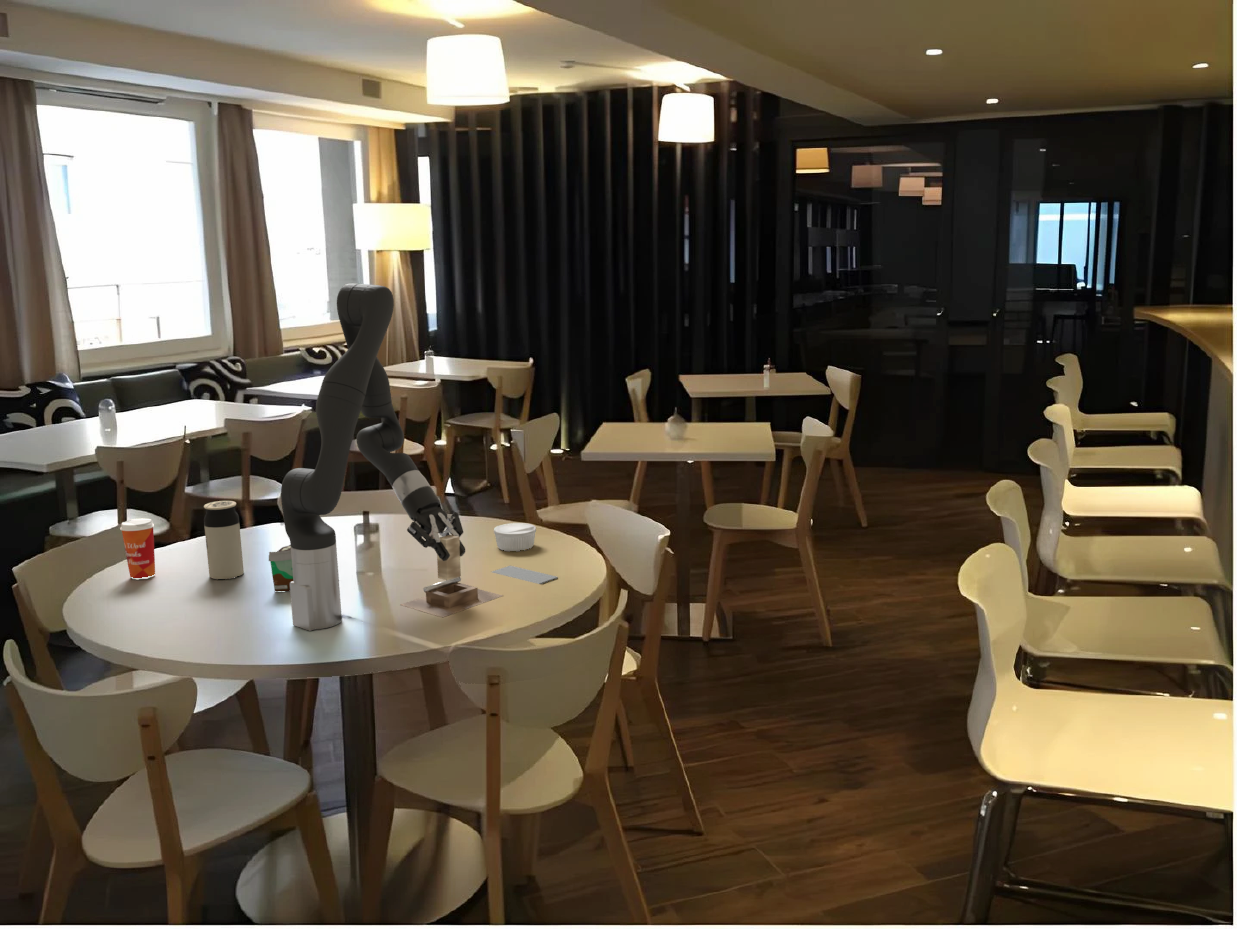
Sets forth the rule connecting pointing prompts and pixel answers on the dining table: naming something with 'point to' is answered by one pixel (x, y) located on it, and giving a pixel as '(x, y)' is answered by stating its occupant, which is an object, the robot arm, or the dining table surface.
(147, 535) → the paper cup
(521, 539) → the ramekin
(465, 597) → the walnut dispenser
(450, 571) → the tan wooden block
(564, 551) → the dining table surface
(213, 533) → the travel mug
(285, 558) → the food container
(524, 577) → the rubber mat
